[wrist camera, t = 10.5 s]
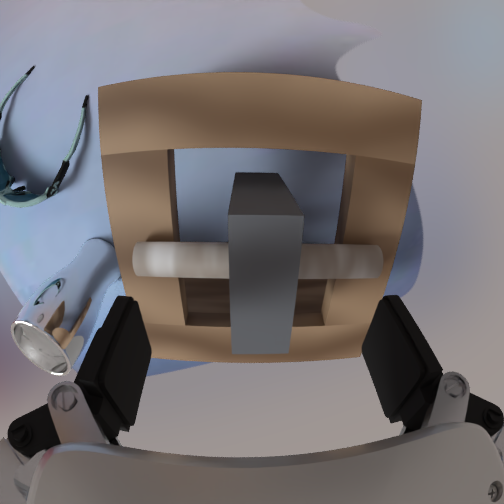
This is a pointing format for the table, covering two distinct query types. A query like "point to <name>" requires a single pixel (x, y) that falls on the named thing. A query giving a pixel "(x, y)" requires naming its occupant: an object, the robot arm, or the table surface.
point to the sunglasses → (7, 196)
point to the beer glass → (66, 309)
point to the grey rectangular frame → (263, 263)
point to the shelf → (254, 126)
